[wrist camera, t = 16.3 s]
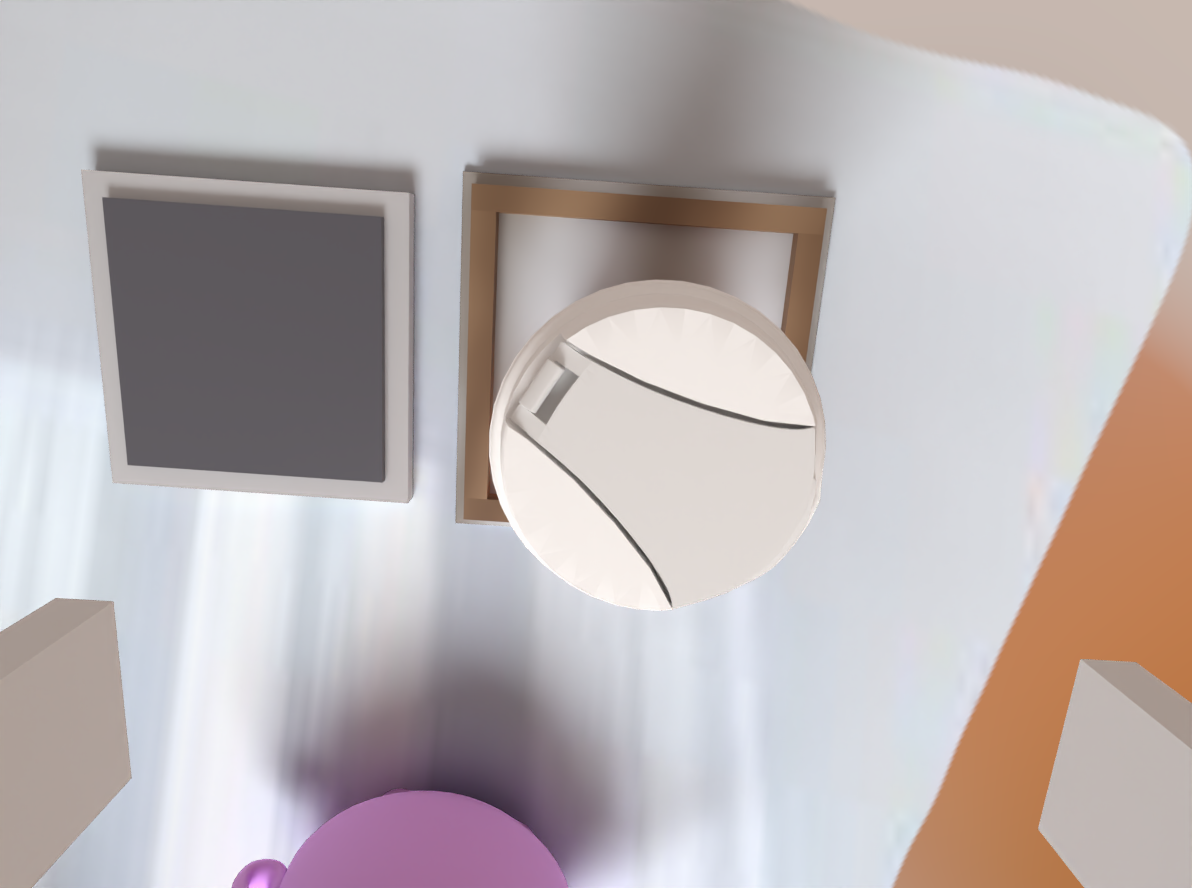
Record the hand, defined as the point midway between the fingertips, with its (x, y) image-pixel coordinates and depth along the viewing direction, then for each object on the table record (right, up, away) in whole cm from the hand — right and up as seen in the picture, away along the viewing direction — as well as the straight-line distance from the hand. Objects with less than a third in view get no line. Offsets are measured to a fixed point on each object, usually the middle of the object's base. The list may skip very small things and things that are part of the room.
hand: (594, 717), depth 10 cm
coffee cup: (+2, +7, +21) cm, 22 cm away
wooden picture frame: (+2, +7, +21) cm, 22 cm away
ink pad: (-14, +8, +21) cm, 27 cm away
